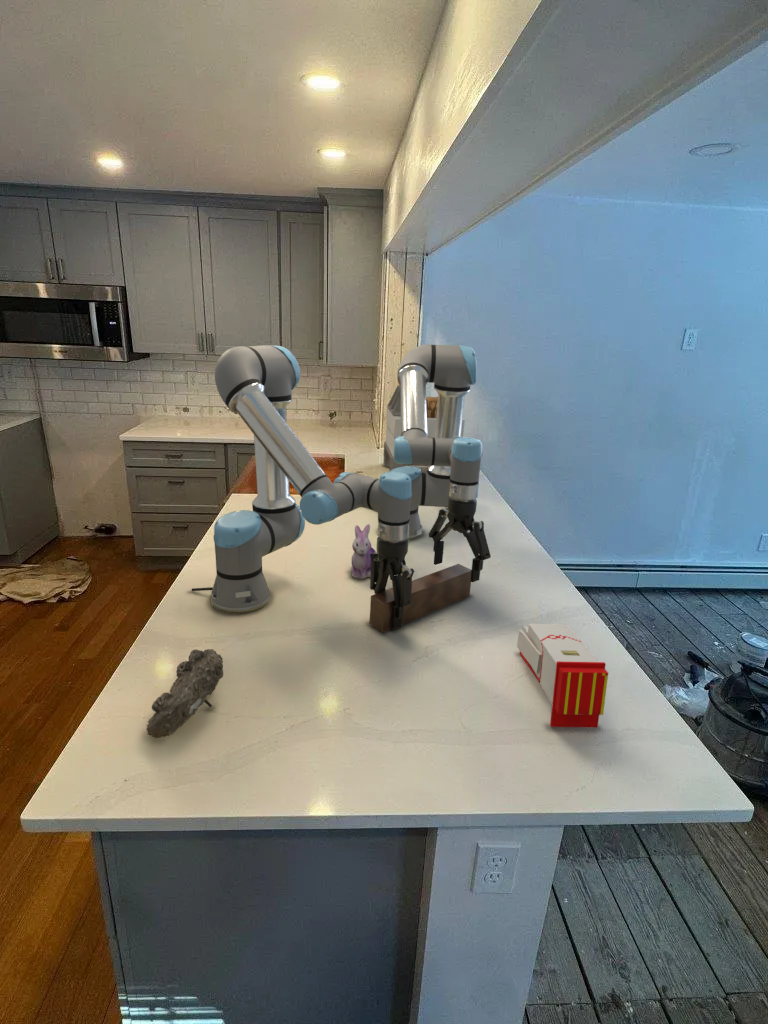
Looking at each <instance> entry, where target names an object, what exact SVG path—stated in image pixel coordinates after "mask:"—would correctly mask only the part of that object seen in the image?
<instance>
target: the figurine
mask: <svg viewBox="0 0 768 1024" xmlns="http://www.w3.org/2000/svg"><path fill="white" fill-rule="evenodd" d="M370 530H371V525H370V523H367V524H366V525H365V527H364V528H363V530H362V529H361V528H360V526H359V525H358V524H356V525H355V526H354V535H355V536H354V539H353V542H352V544H351V545H352V546H351V547H352V551H353V554H352V555H351V568H350V573H351V576H352V577H353V578H356V579H361V580H362V579H366V578H371V557H370V554H372V553H375V552H377V550H375V549H374V548H373V547H372V543H371V540H370V539H369V534H370Z"/></svg>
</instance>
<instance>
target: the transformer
mask: <svg viewBox="0 0 768 1024" xmlns="http://www.w3.org/2000/svg"><path fill="white" fill-rule="evenodd" d="M437 403H438V396H426V408H427V434H428V438H435V427H436V415H437ZM385 414H386V415H385V423H386V428H385V438H384V442H383V466H384V467H388V468H389V472H390V471H391V470H392V469H395V468H398V467H405V466H413V467H428V466H430V465H405V464H397V463H395V462H394V459H393V455H394V454H393V453H394V439H395V437H398V436H401V386H400V385H399V384H398V385H397V386H396V388H395V390H394V392H393V394H392V395H391V398H390V400H389V402H388V404H387V405H386V413H385ZM464 429H465V419H464V418H462V427H461V437H464V431H465V430H464Z"/></svg>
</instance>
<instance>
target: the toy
mask: <svg viewBox="0 0 768 1024" xmlns="http://www.w3.org/2000/svg"><path fill="white" fill-rule="evenodd" d="M516 648H517V649H518V651H519V655H520V657H521V658H522V659H523V662H525V664H526V665H527V667H528V668H529V670H530V671H531V673H532V674H533V676H534V678H535V679H536V680H537V681H538V683H539V684H540V686H541V688H542V690H543V691H544V693H545V695H546V697H547V699H548V700H549V701H550V703H551V713H550V715H551V716H550V723H549V726H550V727H551V728H598V727H599V720H600V716H603V715H604V711H605V703H606V695H607V687H608V680H609V679H608V678H609V672H608V671H607V670H606V662H604V661H599V660H598V659H597V657H595V655H594V654H593V653H592V652H591V651H590V650H589V649H588V648H587V646H586V645H585V644H584V643H583V642H582V641H581V639H580V638H579V637H578V636H577V635H576V634H575V632H574V631H573V630H572V629H571V628H570V627H569V625H568V624H567V623H566V624H565V623H528V625H523V626H522V629H519V630H518V636H517V643H516Z"/></svg>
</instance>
